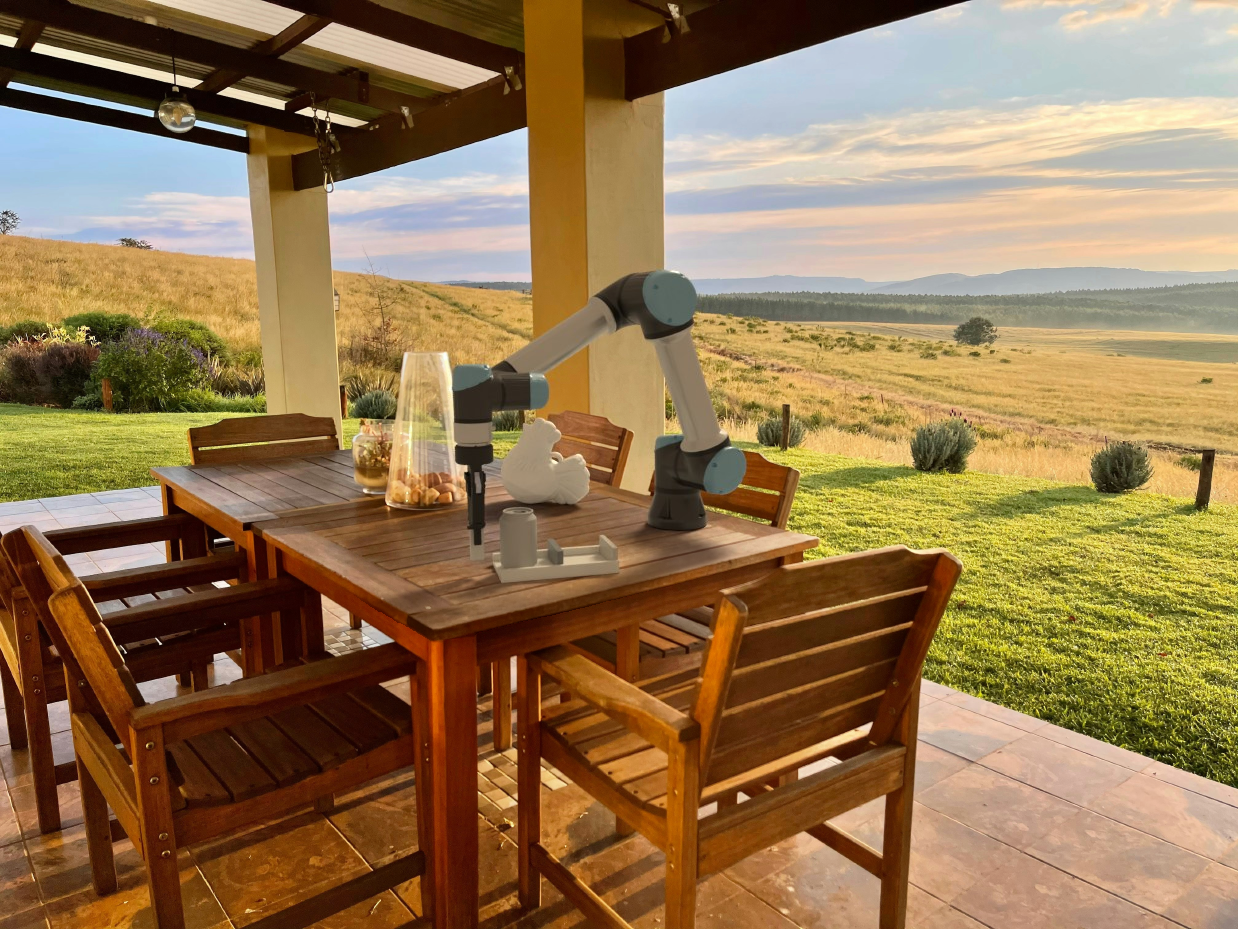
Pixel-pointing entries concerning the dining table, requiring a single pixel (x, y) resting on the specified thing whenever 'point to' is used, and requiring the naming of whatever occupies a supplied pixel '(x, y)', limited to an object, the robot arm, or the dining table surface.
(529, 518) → the can
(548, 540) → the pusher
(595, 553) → the tray
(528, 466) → the decorative rooster
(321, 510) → the dining table surface
